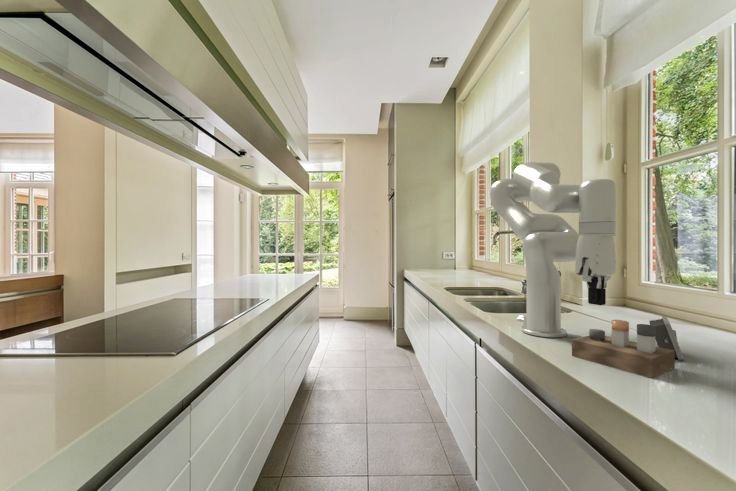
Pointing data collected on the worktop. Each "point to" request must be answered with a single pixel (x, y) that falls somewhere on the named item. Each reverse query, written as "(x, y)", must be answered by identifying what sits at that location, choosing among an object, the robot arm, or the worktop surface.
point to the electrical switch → (666, 336)
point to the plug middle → (620, 333)
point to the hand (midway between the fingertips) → (596, 304)
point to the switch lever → (597, 335)
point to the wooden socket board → (624, 356)
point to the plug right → (646, 338)
